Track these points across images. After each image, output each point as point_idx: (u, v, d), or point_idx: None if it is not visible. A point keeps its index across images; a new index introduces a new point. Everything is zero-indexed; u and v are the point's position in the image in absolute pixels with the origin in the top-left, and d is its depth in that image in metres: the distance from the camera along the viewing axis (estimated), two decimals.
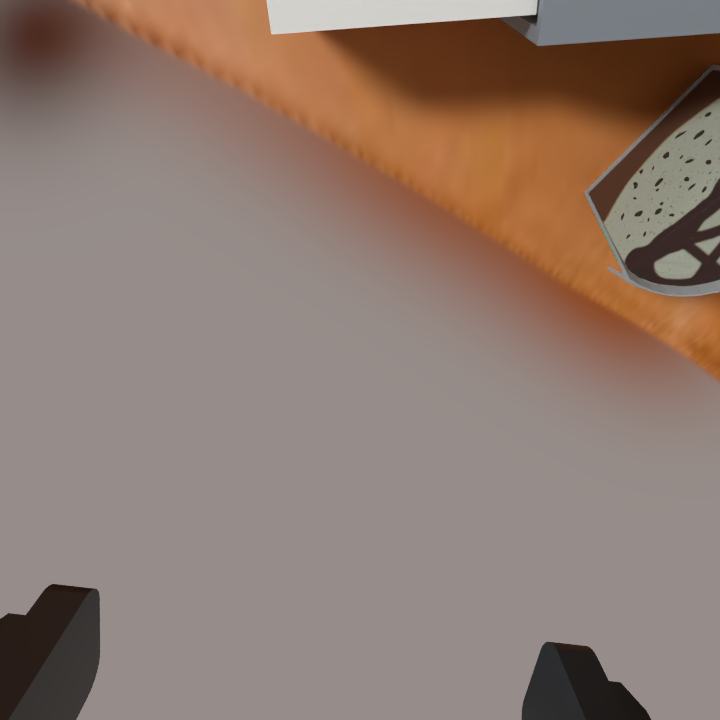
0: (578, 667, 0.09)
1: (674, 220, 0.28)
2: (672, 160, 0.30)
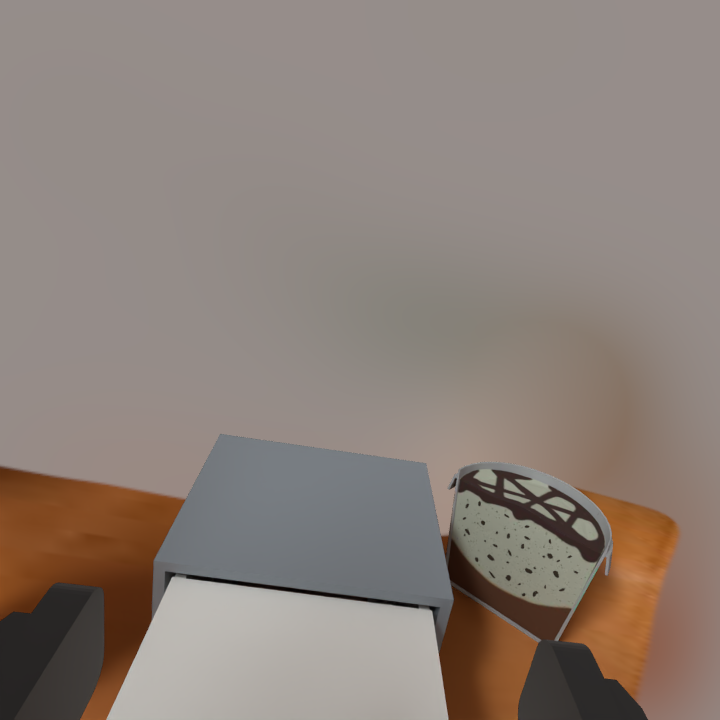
0: (573, 664, 0.09)
1: (553, 537, 0.38)
2: (511, 568, 0.40)
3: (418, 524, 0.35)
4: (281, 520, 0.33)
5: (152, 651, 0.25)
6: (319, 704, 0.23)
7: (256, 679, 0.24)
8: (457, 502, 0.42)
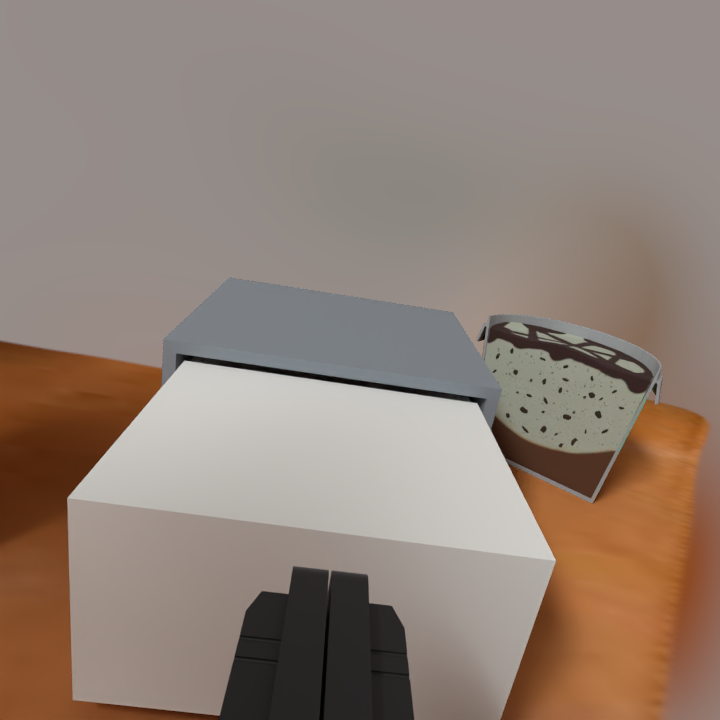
0: (345, 589, 0.10)
1: (595, 372, 0.35)
2: (547, 418, 0.37)
3: (452, 344, 0.32)
4: (303, 329, 0.30)
5: (165, 403, 0.21)
6: (362, 451, 0.20)
7: (287, 430, 0.21)
8: (486, 354, 0.39)
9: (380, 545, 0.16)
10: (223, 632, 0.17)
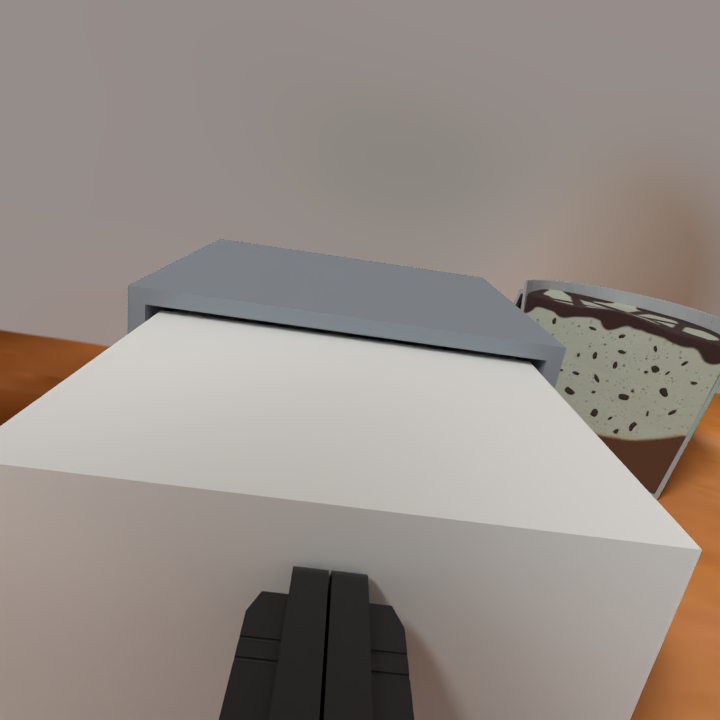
0: (345, 589, 0.10)
1: (660, 341, 0.29)
2: (598, 399, 0.31)
3: (491, 304, 0.26)
4: (308, 284, 0.24)
5: (130, 351, 0.16)
6: (395, 408, 0.15)
7: (293, 383, 0.15)
8: None
9: (436, 530, 0.10)
10: (202, 662, 0.11)
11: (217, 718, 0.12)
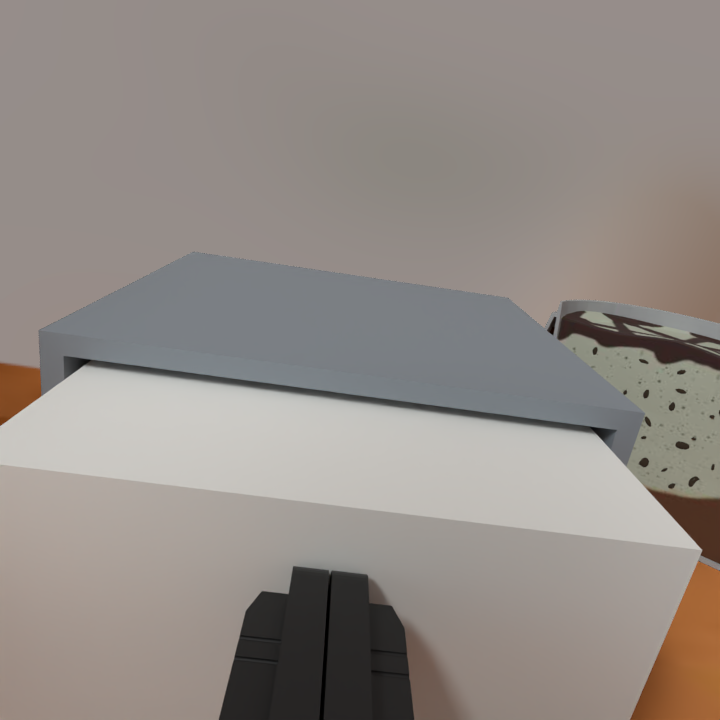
0: (345, 589, 0.10)
1: None
2: (649, 447, 0.26)
3: (528, 339, 0.20)
4: (295, 316, 0.19)
5: None
6: (395, 407, 0.15)
7: None
8: None
9: (436, 530, 0.10)
10: (202, 662, 0.11)
11: (217, 718, 0.12)
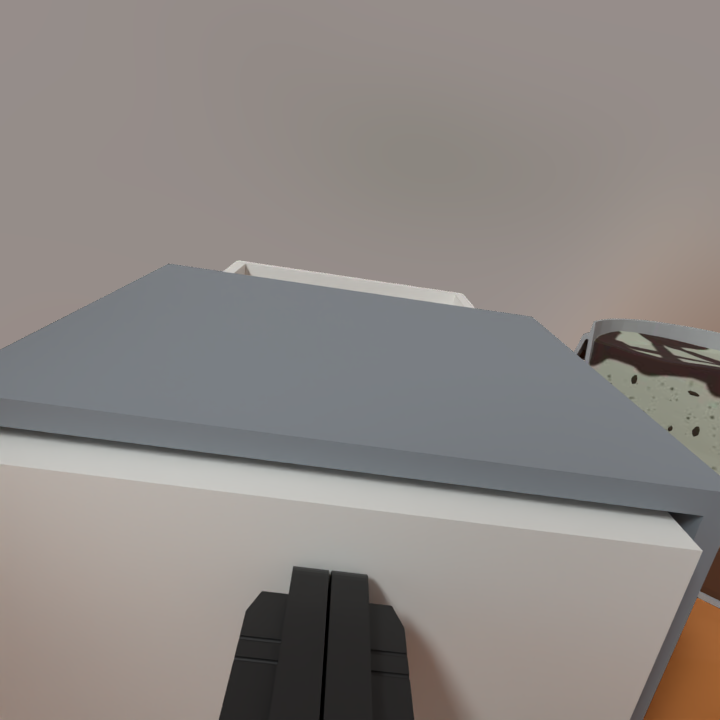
0: (345, 589, 0.10)
1: None
2: None
3: (567, 376, 0.17)
4: (281, 352, 0.15)
5: None
6: None
7: None
8: None
9: (436, 530, 0.10)
10: (202, 662, 0.11)
11: (217, 717, 0.12)
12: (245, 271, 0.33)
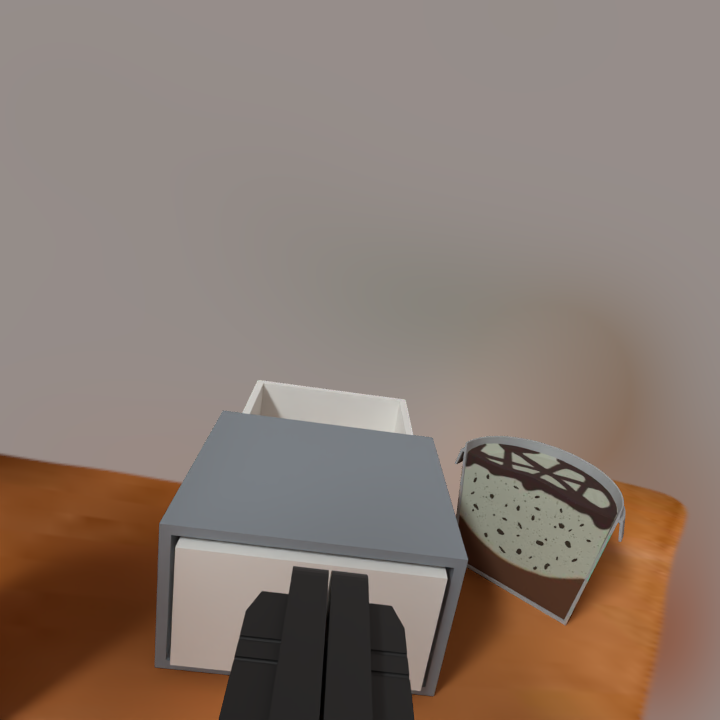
0: (345, 589, 0.10)
1: (564, 506, 0.37)
2: (521, 542, 0.40)
3: (428, 492, 0.34)
4: (288, 487, 0.32)
5: None
6: None
7: None
8: (465, 477, 0.42)
9: (347, 571, 0.28)
10: None
11: None
12: (263, 388, 0.51)
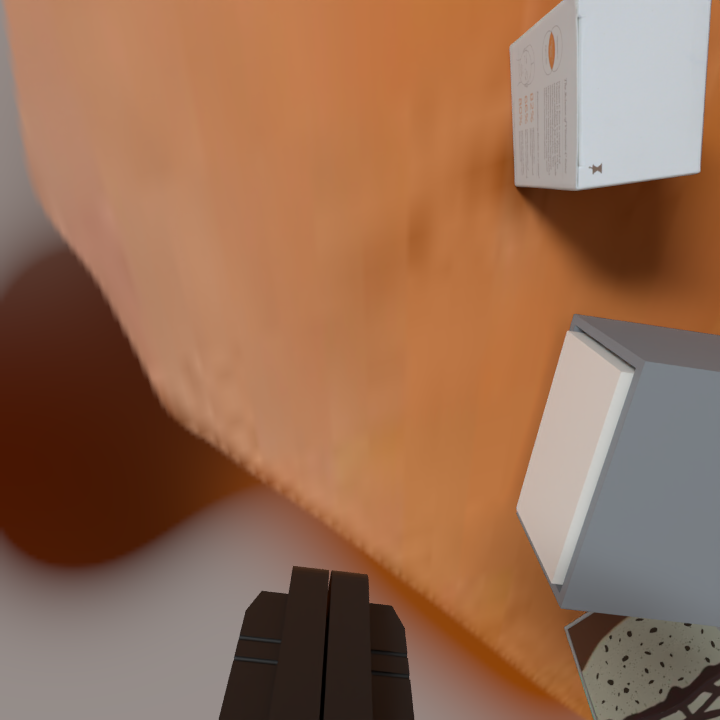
0: (345, 589, 0.10)
1: (639, 708, 0.37)
2: (634, 642, 0.41)
3: (665, 602, 0.33)
4: (692, 475, 0.30)
5: None
6: None
7: None
8: None
9: (573, 509, 0.32)
10: (568, 416, 0.34)
11: (558, 411, 0.36)
12: None
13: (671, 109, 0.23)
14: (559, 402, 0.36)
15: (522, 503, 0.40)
